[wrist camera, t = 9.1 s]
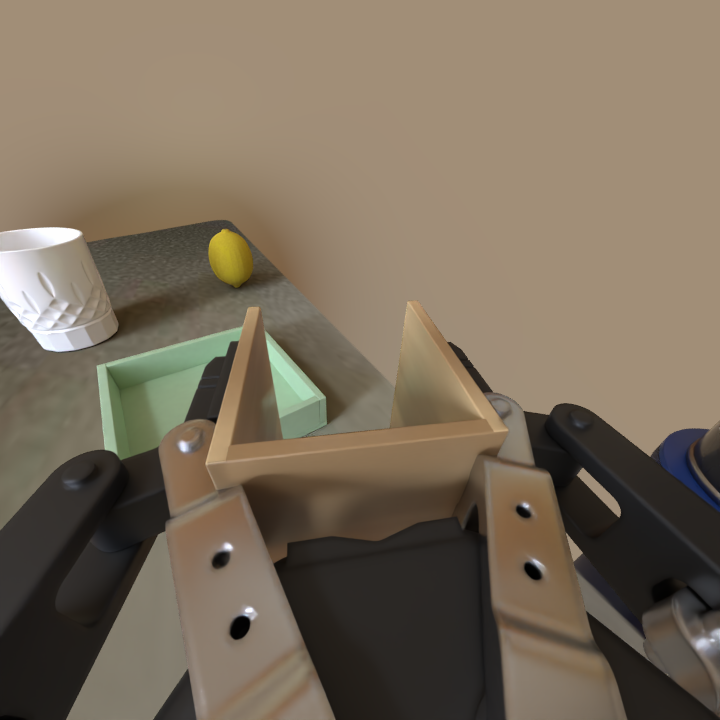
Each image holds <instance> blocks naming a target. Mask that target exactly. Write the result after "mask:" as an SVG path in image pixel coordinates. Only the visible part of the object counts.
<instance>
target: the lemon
mask: <svg viewBox="0 0 720 720" xmlns="http://www.w3.org/2000/svg"><path fill="white" fill-rule="evenodd" d="M209 261H210V265H211V267H212V270H213V271H214V273H215V275H216V276H217V277H218V278H219V279H220V280H221V281H223V282H225V283H227V284H231V285H233V286H234V287H236V288H237V287H240V285H241V284H242V283H244V282H245V281H247V280H248V279H249V277H250V276H251V274H252V270H253V258H252V254H251V251H250V249H249V247H248V245H247V243H246V241H245V240H244V239H243V238H242V237H241V236H239V235H238V234H236V233H234V232H230V231H229V230H228V229H223V230H222V231H221V232H220V233H218V234H216V235H215V236H214V237H213V238H212V240H211V241H210V244H209Z"/></svg>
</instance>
